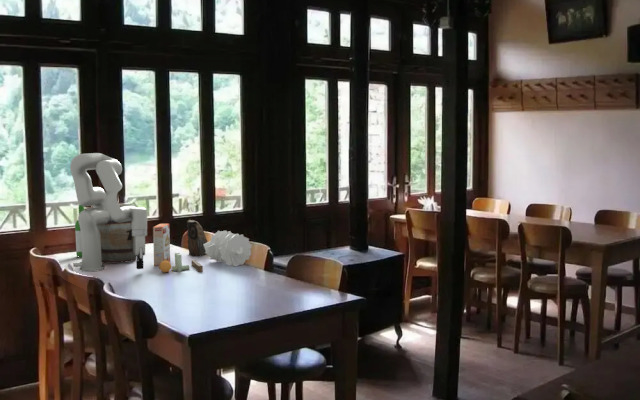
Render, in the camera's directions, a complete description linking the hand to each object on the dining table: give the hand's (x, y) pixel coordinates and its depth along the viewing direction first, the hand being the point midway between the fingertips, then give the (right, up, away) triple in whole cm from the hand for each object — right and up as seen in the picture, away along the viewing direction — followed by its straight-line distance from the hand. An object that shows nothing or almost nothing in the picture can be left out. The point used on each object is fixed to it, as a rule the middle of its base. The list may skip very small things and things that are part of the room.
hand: (139, 268), depth 346 cm
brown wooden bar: (+27, -1, +10) cm, 29 cm away
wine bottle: (-45, +2, +48) cm, 66 cm away
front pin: (+15, -1, +5) cm, 16 cm away
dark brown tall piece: (+21, +3, +50) cm, 55 cm away
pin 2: (+19, -2, +4) cm, 20 cm away
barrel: (-22, +1, +33) cm, 39 cm away
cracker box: (+6, 0, +25) cm, 26 cm away
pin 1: (+17, -1, +9) cm, 19 cm away
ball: (+12, +1, +2) cm, 12 cm away
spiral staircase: (+42, 0, +22) cm, 47 cm away
